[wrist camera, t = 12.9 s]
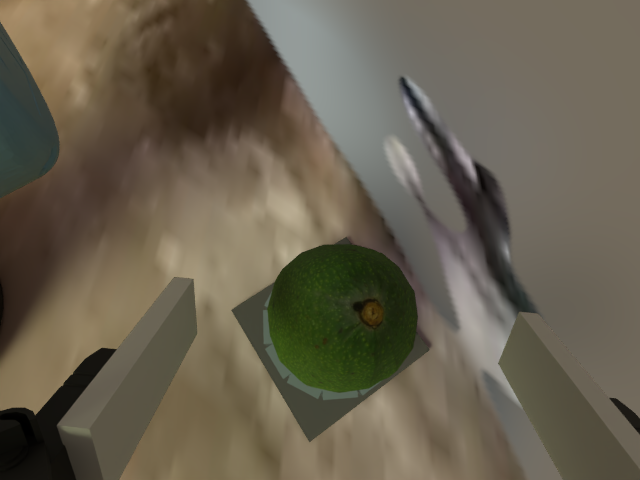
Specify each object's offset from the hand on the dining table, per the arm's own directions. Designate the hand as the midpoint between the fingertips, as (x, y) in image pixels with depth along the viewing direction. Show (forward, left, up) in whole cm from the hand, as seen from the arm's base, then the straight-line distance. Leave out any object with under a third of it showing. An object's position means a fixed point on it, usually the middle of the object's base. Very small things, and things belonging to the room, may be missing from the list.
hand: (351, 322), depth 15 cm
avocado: (-1, +1, -10) cm, 10 cm away
